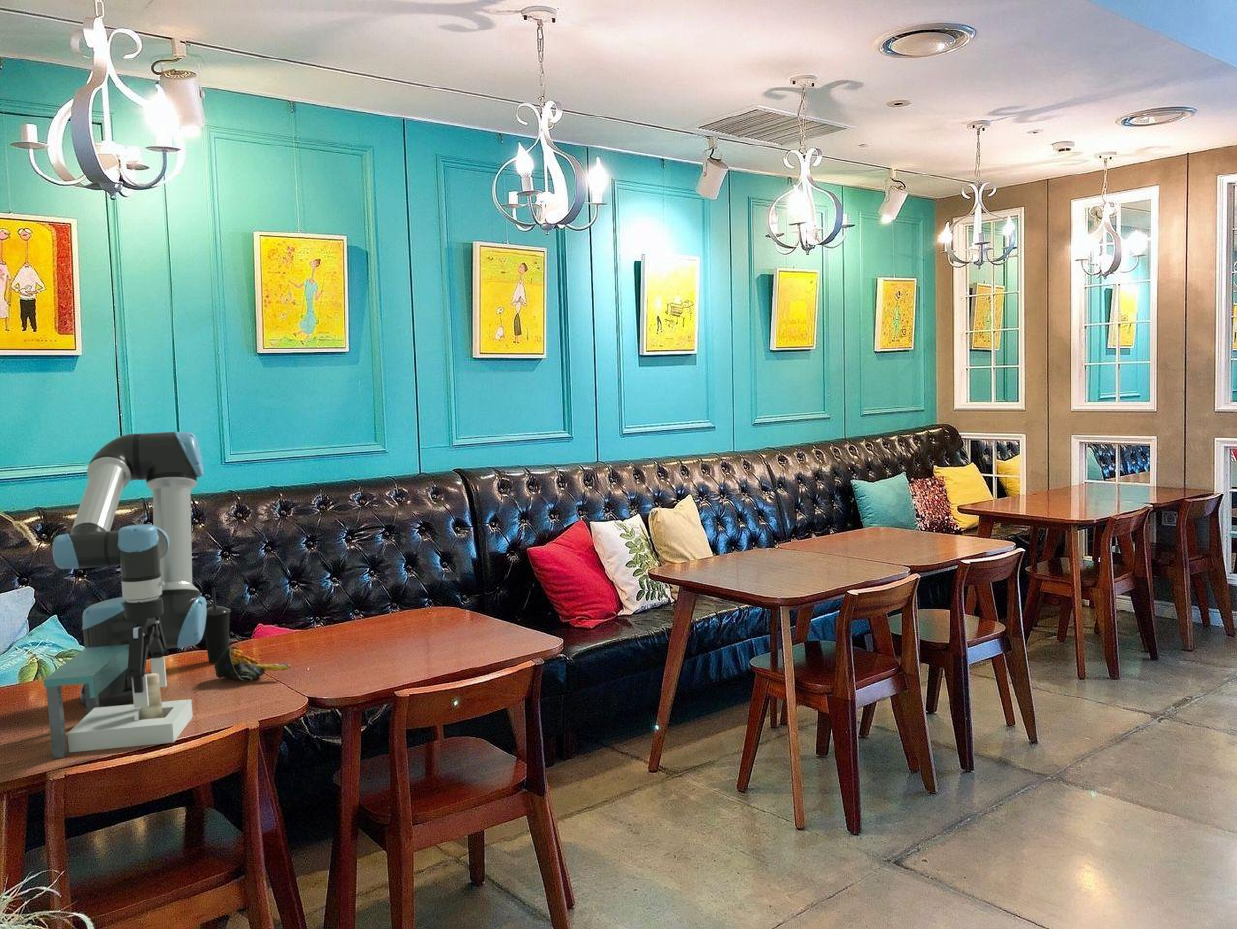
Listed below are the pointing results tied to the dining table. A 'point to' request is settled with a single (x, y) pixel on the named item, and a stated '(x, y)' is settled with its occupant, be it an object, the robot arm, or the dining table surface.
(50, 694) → the teal miniature table
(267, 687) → the dining table surface
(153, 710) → the wooden peg
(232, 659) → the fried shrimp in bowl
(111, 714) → the socket block
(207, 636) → the drinking cup
